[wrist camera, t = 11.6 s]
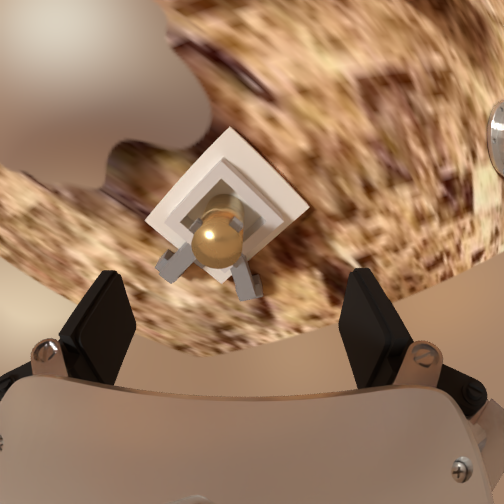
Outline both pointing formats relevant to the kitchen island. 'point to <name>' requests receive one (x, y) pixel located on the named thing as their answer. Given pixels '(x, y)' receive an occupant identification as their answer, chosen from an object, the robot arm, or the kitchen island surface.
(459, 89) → the kitchen island surface
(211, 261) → the gold rounded cylinder
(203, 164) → the shaft stand
